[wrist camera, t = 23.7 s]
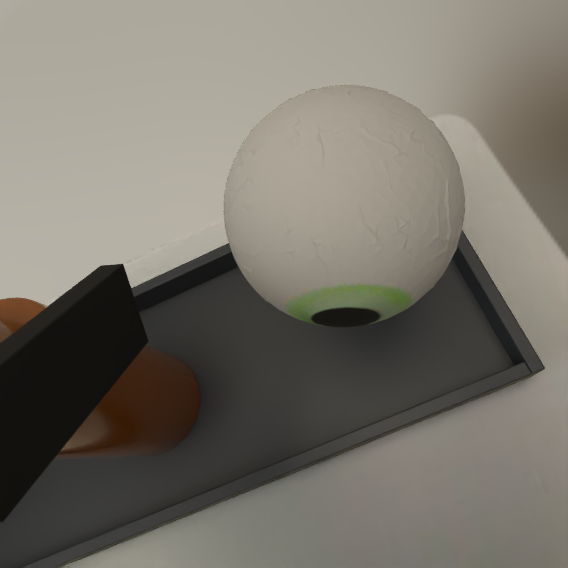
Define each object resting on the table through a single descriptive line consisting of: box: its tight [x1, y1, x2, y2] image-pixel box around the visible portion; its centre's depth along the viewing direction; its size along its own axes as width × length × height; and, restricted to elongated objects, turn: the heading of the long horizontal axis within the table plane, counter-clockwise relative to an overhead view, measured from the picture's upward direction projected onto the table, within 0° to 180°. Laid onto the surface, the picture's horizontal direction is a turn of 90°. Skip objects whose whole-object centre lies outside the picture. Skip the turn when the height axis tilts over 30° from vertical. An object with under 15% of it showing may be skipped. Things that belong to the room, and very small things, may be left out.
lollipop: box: [224, 85, 465, 327], centre depth 18 cm, size 7×7×15 cm
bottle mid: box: [0, 298, 200, 460], centre depth 18 cm, size 6×6×17 cm
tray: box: [0, 231, 545, 568], centre depth 26 cm, size 37×12×3 cm, turn 111°
